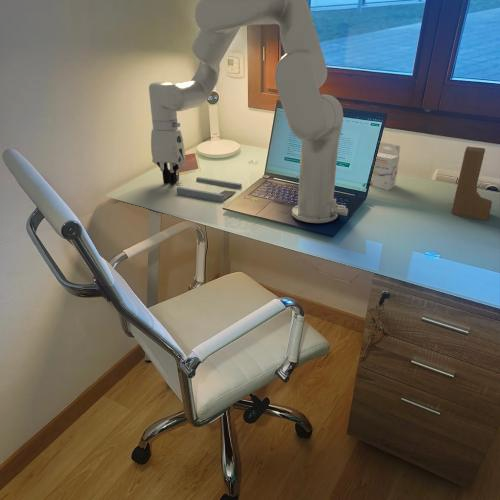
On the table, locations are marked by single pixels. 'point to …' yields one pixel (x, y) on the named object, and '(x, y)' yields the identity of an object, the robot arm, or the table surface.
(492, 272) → the table surface
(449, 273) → the table surface
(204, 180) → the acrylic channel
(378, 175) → the ink cartridge box
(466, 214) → the wooden block
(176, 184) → the strap clip
